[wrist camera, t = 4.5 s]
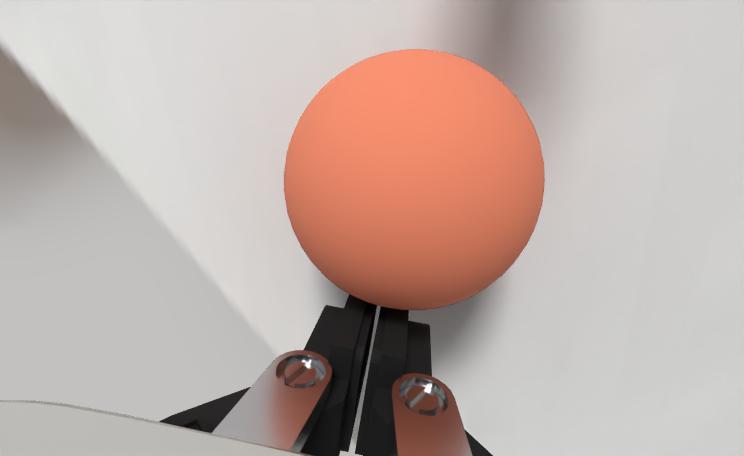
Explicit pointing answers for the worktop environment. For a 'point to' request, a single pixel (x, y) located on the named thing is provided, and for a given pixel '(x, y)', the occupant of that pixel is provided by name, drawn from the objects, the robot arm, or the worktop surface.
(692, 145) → the worktop surface
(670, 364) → the worktop surface
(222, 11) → the worktop surface
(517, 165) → the ball
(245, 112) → the worktop surface
